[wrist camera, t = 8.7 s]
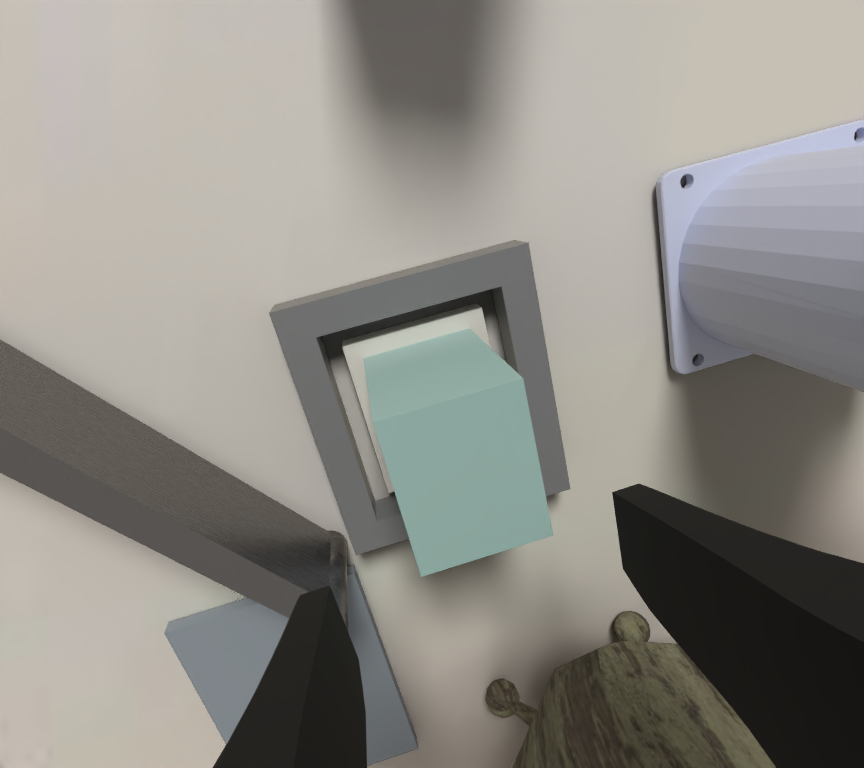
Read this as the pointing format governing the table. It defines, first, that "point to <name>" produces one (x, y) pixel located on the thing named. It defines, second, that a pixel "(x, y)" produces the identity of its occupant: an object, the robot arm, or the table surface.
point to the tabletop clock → (630, 711)
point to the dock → (397, 295)
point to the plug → (451, 437)
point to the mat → (252, 651)
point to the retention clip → (159, 490)
